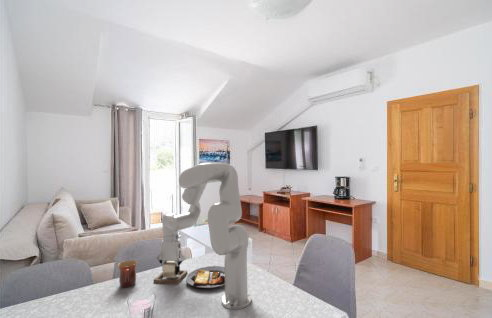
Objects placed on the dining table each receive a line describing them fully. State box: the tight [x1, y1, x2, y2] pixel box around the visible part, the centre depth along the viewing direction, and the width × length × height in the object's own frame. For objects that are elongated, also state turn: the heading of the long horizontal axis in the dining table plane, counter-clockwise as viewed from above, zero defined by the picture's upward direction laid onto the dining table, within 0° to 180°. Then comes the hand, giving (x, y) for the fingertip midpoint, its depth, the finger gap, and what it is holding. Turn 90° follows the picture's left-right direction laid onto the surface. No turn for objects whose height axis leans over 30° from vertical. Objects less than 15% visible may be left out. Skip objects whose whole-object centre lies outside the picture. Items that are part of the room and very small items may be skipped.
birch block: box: [162, 261, 180, 279], centre depth 132 cm, size 6×6×6 cm
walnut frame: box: [153, 269, 188, 285], centre depth 132 cm, size 12×12×2 cm
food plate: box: [185, 265, 225, 289], centre depth 129 cm, size 25×23×4 cm
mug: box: [117, 259, 138, 288], centre depth 124 cm, size 12×9×10 cm
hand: (171, 272), depth 132 cm, fingers closed on birch block, 6 cm apart
